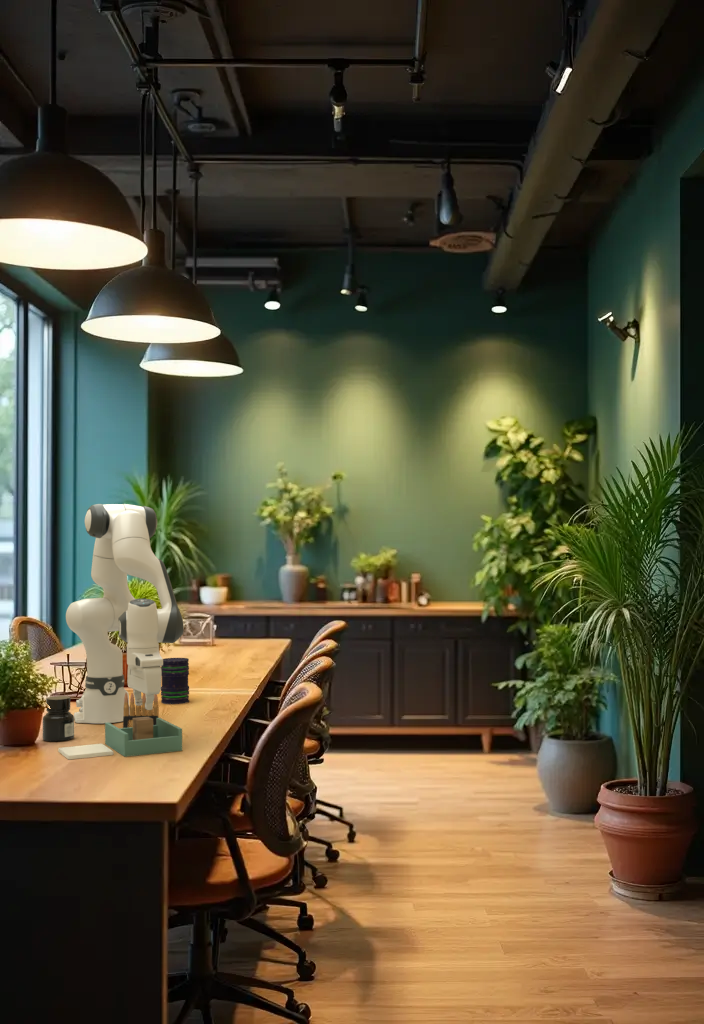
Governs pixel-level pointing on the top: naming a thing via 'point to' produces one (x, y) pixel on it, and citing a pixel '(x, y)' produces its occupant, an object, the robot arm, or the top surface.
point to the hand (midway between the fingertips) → (143, 707)
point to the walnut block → (142, 728)
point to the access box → (163, 739)
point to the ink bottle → (58, 720)
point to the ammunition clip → (139, 710)
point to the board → (85, 751)
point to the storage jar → (175, 681)
